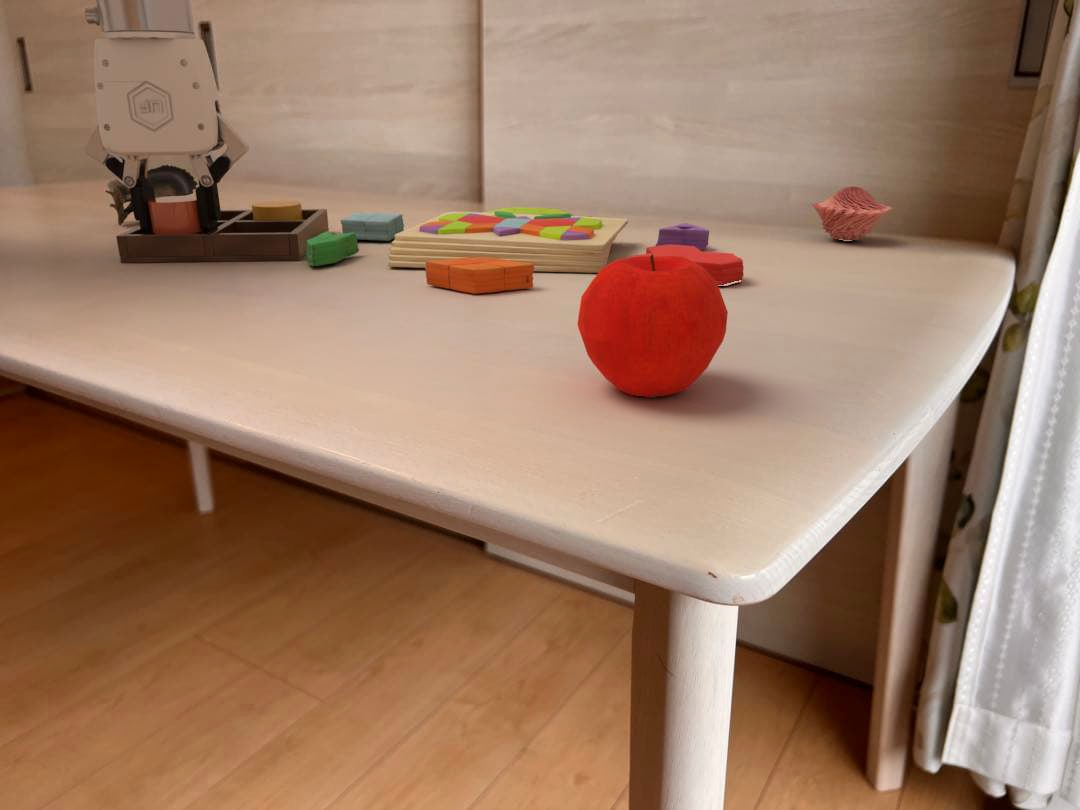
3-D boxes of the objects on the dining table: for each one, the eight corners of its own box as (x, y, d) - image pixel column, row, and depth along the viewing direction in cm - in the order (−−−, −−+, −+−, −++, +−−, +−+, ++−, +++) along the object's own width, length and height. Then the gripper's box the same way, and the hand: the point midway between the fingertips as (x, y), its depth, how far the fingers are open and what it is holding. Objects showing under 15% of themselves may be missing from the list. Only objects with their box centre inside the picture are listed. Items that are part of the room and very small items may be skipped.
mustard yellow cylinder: (249, 236, 89) (246, 207, 88) (261, 228, 93) (258, 200, 92) (298, 235, 89) (295, 206, 88) (307, 228, 94) (305, 200, 93)
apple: (666, 358, 52) (672, 235, 50) (754, 397, 46) (767, 259, 43) (551, 378, 49) (551, 248, 46) (629, 424, 42) (635, 275, 39)
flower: (882, 236, 93) (890, 183, 91) (891, 249, 85) (900, 192, 83) (806, 233, 94) (812, 181, 92) (809, 245, 87) (815, 190, 85)
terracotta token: (144, 235, 80) (139, 202, 79) (162, 226, 85) (158, 196, 84) (198, 234, 81) (194, 202, 80) (214, 226, 85) (209, 195, 84)
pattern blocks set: (272, 296, 67) (268, 257, 66) (348, 227, 98) (345, 199, 97) (756, 292, 68) (760, 254, 67) (678, 225, 99) (680, 198, 98)
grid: (120, 262, 79) (115, 235, 79) (178, 233, 95) (175, 210, 94) (299, 260, 80) (297, 233, 80) (328, 231, 96) (327, 208, 95)
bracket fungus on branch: (132, 220, 96) (208, 198, 101) (101, 164, 96) (178, 144, 101) (126, 248, 102) (197, 226, 107) (96, 195, 102) (169, 176, 107)
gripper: (29, 19, 72) (72, 236, 79) (234, 19, 73) (260, 233, 80) (69, 25, 79) (105, 223, 86) (256, 24, 80) (278, 221, 87)
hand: (179, 226), depth 83 cm, fingers closed on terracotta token, 4 cm apart
